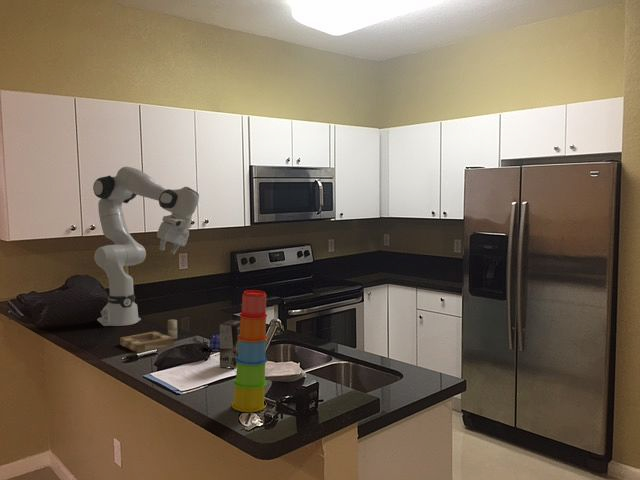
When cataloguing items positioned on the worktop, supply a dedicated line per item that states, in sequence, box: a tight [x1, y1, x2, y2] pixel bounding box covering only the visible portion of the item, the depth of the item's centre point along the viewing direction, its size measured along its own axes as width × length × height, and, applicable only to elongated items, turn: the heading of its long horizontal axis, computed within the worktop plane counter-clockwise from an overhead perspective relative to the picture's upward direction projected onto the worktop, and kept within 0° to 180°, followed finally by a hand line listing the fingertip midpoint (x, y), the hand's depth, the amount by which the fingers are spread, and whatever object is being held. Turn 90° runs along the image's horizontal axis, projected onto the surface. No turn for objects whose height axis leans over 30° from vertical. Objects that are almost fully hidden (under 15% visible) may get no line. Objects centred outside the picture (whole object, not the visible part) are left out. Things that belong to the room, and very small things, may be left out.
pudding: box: [207, 334, 220, 352], centre depth 221 cm, size 12×12×5 cm
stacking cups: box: [231, 289, 268, 413], centre depth 158 cm, size 10×10×35 cm
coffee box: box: [219, 319, 241, 369], centre depth 198 cm, size 9×6×16 cm
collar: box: [119, 330, 175, 354], centre depth 225 cm, size 16×16×3 cm
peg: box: [167, 319, 178, 340], centre depth 235 cm, size 4×4×8 cm
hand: (166, 252), depth 235 cm, fingers open, 8 cm apart
